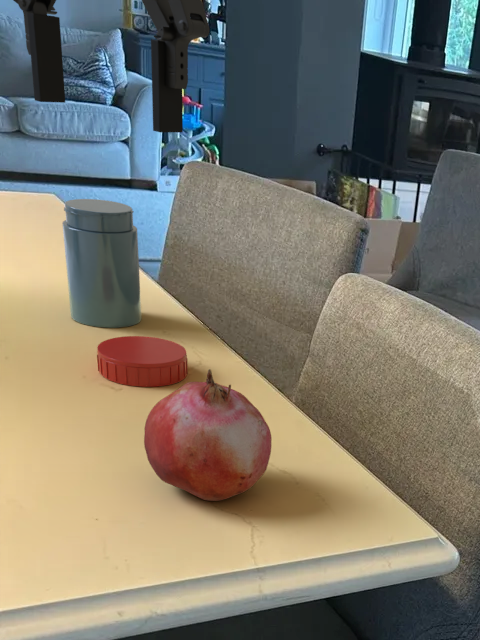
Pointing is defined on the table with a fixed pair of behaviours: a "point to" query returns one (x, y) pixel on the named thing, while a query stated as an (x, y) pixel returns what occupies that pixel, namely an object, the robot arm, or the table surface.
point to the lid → (142, 361)
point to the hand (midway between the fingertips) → (107, 116)
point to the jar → (102, 263)
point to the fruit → (207, 440)
